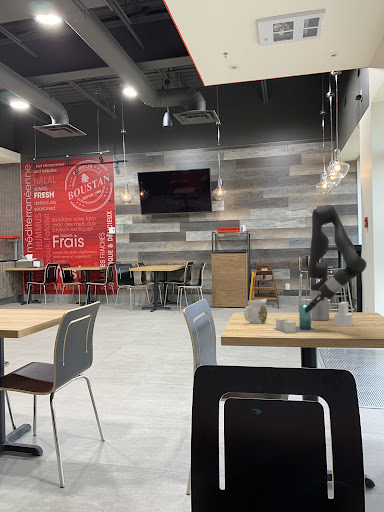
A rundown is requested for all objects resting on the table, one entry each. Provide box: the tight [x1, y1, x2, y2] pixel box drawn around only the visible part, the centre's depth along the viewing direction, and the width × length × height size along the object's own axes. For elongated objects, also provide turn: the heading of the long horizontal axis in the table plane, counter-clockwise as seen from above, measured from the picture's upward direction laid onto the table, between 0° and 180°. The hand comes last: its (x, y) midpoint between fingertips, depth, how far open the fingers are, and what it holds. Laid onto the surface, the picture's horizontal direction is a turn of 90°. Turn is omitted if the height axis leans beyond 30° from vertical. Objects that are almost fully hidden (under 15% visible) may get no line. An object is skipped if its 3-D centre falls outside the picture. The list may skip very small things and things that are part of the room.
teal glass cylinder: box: [298, 303, 312, 330], centre depth 212 cm, size 6×6×12 cm
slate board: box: [272, 325, 321, 335], centre depth 211 cm, size 19×14×2 cm
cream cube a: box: [284, 320, 297, 334], centre depth 205 cm, size 4×4×5 cm
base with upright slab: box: [334, 301, 353, 327], centre depth 230 cm, size 9×9×12 cm
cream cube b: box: [275, 317, 288, 331], centre depth 213 cm, size 4×4×5 cm
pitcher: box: [243, 298, 268, 325], centre depth 233 cm, size 11×18×14 cm, turn 131°
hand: (307, 309), depth 211 cm, fingers open, 8 cm apart
